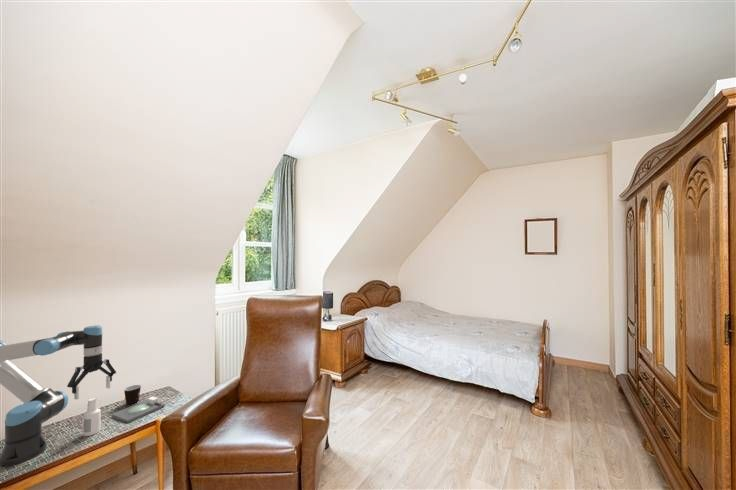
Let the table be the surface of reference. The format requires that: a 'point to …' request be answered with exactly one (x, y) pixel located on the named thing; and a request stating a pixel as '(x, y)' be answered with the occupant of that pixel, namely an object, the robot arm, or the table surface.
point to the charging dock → (138, 410)
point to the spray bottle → (92, 418)
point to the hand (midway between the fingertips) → (92, 393)
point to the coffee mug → (132, 394)
